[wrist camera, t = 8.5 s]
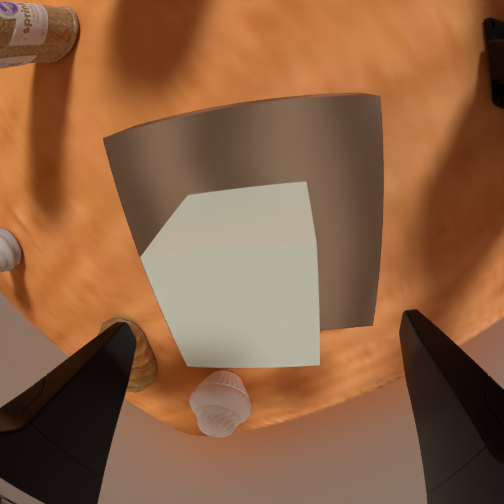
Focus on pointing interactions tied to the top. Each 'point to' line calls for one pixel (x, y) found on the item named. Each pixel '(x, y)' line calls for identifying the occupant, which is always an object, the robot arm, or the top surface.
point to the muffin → (220, 404)
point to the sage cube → (240, 278)
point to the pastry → (138, 358)
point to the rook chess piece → (9, 250)
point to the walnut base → (271, 179)
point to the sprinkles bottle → (35, 33)
